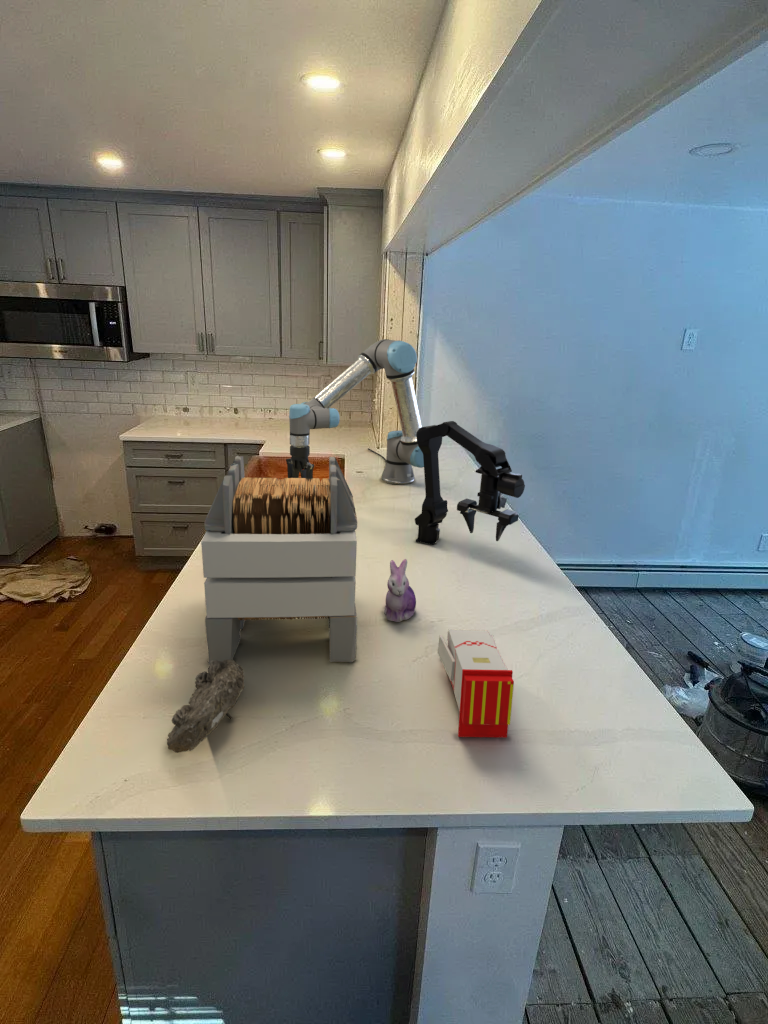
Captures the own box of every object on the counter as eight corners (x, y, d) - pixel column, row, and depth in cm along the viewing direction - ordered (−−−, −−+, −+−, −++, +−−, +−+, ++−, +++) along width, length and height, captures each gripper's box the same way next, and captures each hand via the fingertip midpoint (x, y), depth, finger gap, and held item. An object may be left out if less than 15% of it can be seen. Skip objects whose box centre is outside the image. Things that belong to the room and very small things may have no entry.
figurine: (392, 627, 141) (395, 572, 136) (374, 608, 149) (376, 556, 144) (425, 619, 145) (429, 566, 140) (405, 601, 154) (408, 550, 149)
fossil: (192, 660, 117) (244, 628, 112) (224, 691, 120) (276, 661, 115) (142, 746, 98) (202, 712, 93) (182, 779, 101) (242, 748, 96)
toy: (488, 613, 130) (523, 677, 101) (484, 667, 133) (517, 744, 104) (435, 612, 130) (455, 676, 101) (432, 666, 133) (451, 743, 103)
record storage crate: (228, 592, 154) (220, 446, 140) (349, 591, 158) (352, 448, 144) (205, 667, 122) (192, 487, 109) (356, 663, 126) (362, 488, 112)
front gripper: (529, 490, 173) (523, 538, 178) (476, 477, 184) (471, 522, 189) (512, 498, 165) (506, 548, 170) (458, 484, 176) (453, 531, 181)
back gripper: (322, 447, 214) (322, 506, 222) (291, 440, 224) (292, 496, 232) (308, 450, 209) (308, 510, 217) (277, 442, 219) (278, 500, 227)
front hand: (484, 536), depth 178 cm, fingers open, 9 cm apart
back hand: (300, 502), depth 225 cm, fingers closed on block, 4 cm apart
